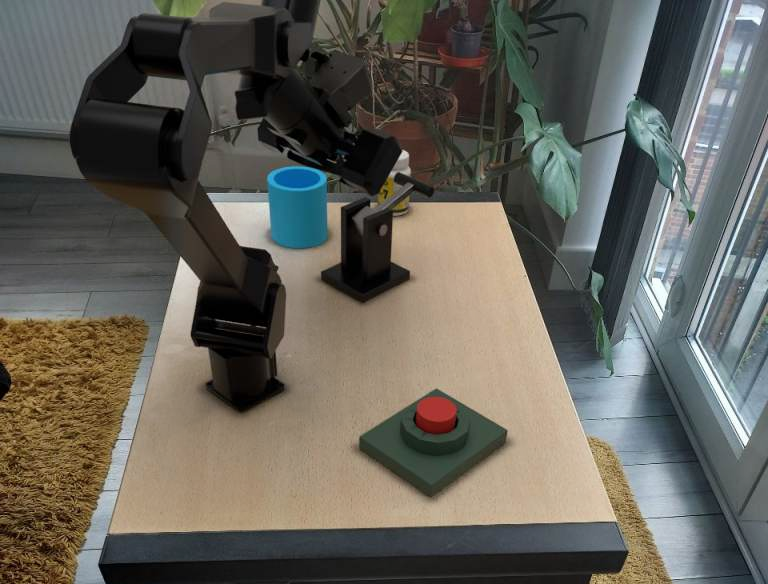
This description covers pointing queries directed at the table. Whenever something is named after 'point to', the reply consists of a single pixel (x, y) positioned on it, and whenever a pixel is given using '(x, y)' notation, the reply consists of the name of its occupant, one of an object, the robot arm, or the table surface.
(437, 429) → the button
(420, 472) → the switch
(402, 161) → the supplement bottle
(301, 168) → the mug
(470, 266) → the table surface
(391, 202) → the lever
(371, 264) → the lever bracket
